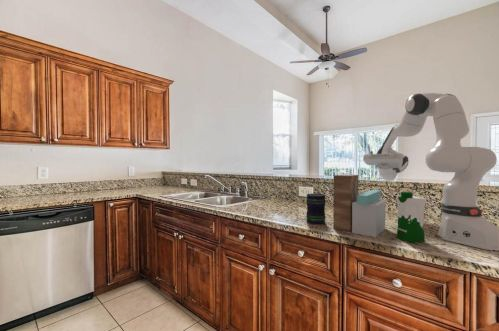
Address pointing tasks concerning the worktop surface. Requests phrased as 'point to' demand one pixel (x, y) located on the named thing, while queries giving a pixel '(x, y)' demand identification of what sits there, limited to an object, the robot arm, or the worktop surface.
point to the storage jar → (315, 209)
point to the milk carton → (410, 217)
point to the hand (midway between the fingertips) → (380, 151)
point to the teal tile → (368, 197)
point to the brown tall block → (344, 200)
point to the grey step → (368, 218)
